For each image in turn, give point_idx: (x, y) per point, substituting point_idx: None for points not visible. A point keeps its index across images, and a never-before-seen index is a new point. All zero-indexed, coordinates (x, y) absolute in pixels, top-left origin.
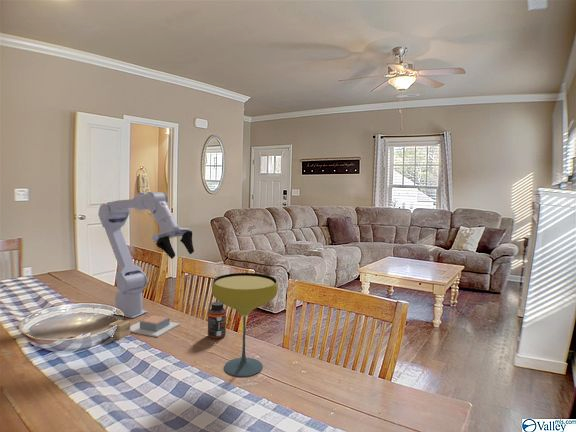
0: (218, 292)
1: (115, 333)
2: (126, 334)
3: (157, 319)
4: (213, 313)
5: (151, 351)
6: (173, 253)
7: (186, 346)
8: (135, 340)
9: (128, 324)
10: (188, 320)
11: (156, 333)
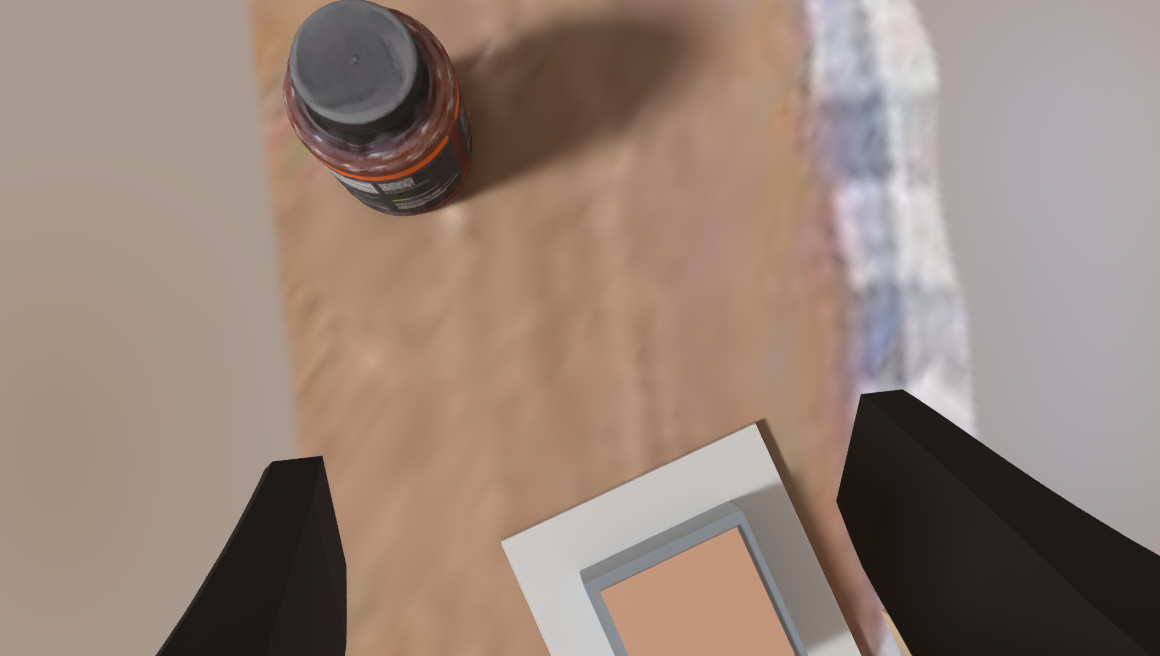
0: None
1: None
2: None
3: (686, 608)
4: (441, 49)
5: (887, 235)
6: (930, 413)
7: (673, 145)
8: None
9: None
10: (389, 585)
11: (740, 472)
